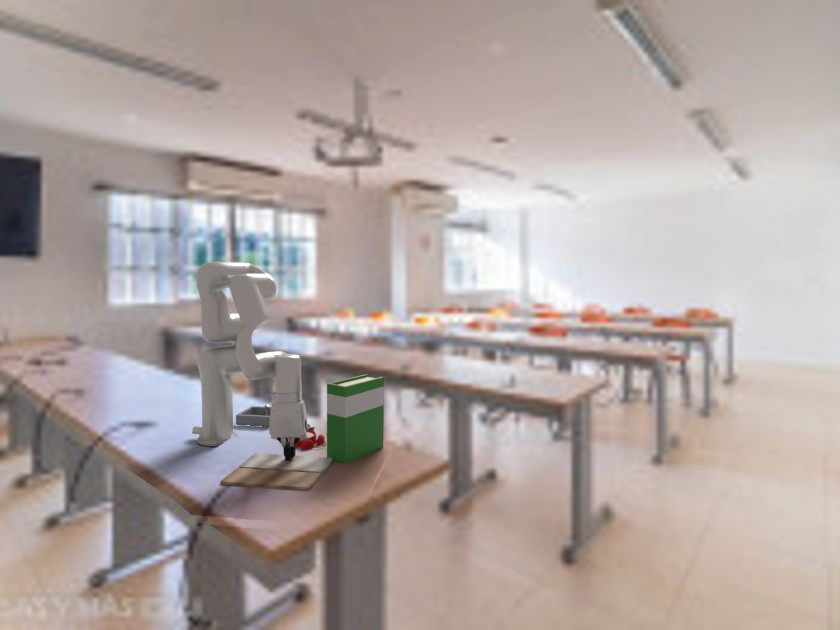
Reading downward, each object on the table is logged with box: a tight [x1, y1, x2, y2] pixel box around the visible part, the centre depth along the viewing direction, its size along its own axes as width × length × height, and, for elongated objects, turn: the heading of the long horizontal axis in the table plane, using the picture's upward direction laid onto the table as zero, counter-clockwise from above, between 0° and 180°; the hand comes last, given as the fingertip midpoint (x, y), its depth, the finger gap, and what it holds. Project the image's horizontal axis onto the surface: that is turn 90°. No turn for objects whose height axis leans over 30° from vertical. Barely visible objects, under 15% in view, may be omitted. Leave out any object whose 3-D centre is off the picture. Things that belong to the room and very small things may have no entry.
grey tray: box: [235, 405, 271, 428], centre depth 184 cm, size 14×13×4 cm
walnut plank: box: [220, 467, 321, 491], centre depth 129 cm, size 24×9×2 cm, turn 83°
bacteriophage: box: [259, 404, 271, 416], centre depth 184 cm, size 7×8×7 cm
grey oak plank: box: [238, 452, 334, 475], centre depth 139 cm, size 24×10×2 cm, turn 83°
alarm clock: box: [289, 430, 327, 451], centre depth 158 cm, size 10×6×15 cm
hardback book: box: [326, 373, 385, 465], centre depth 149 cm, size 18×7×24 cm, turn 145°
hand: (289, 458), depth 142 cm, fingers closed
